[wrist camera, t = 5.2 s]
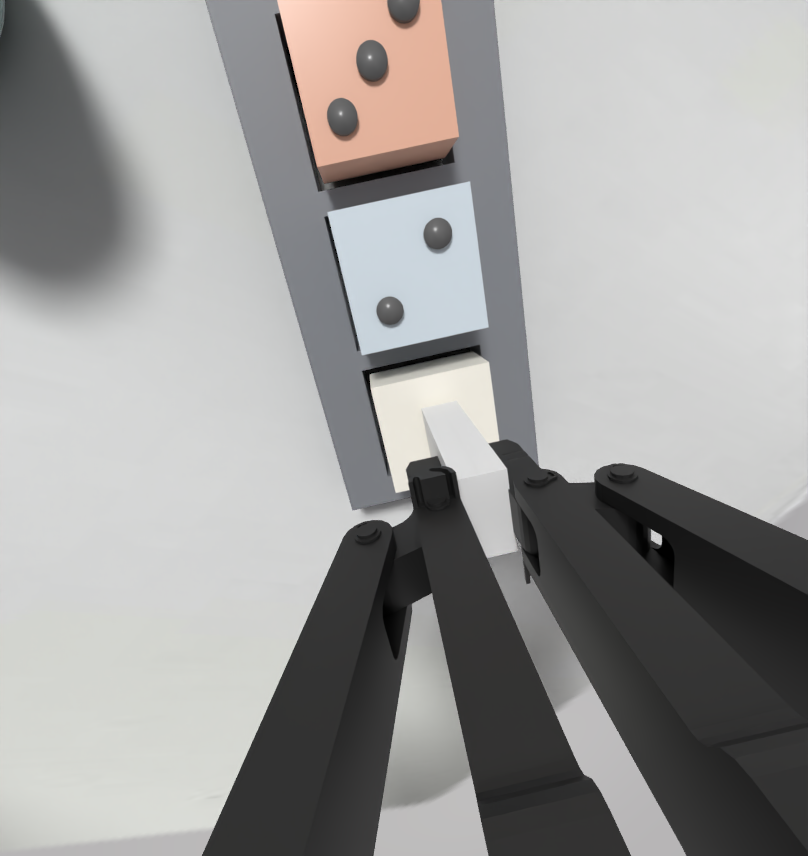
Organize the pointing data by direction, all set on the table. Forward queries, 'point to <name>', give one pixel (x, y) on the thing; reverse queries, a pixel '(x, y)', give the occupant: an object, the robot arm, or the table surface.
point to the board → (307, 206)
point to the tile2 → (411, 267)
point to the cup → (2, 15)
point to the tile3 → (372, 82)
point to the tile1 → (425, 387)
